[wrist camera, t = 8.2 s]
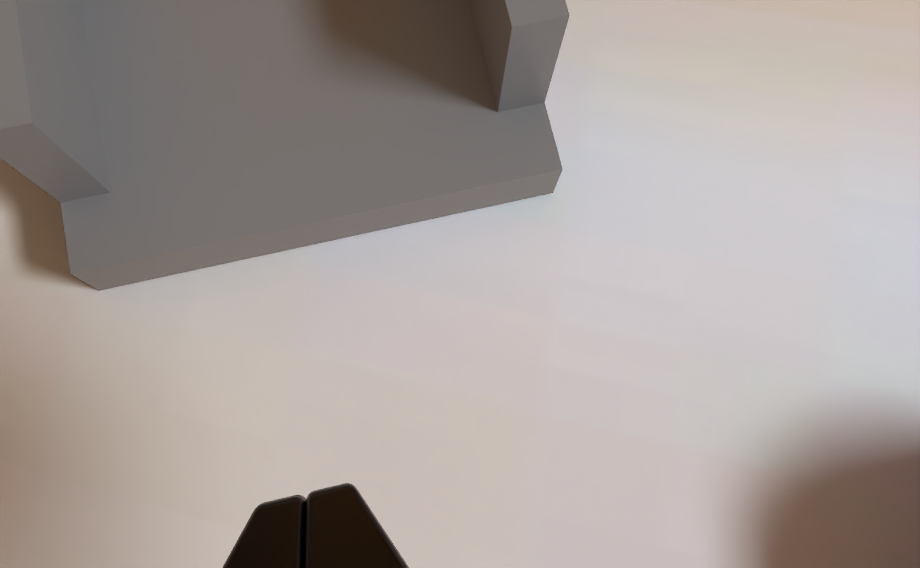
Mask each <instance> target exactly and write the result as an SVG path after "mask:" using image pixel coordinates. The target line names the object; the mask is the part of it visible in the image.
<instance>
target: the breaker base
mask: <svg viewBox="0 0 920 568" xmlns="http://www.w3.org/2000/svg"><path fill="white" fill-rule="evenodd" d="M568 18H569V12H568V9H567V5H566V2H565V0H0V158H1V159H2V160H3V161H5V162H6V163H7V164H9V165H10V166H11V167H13V168H14V169H15V170H17V171H18V172H19V173H21V174H22V175H24V176H25V177H26V178H28V179H29V180H30V181H32V182H33V183H34V184H36V185H37V186H38V187H40V188H41V189H42V190H44V191H45V192H46V193H48V194H49V195H50V196H52V197H53V198H54V199H56V200H57V201H58V202H60V205H61V212H62V219H63V226H64V233H65V240H66V247H67V254H68V261H69V268H70V274H71V275H73V276H74V277H76V278H78V279H80V280H81V281H83V282H85V283H87V284H89V285H90V286H92V287H94V288H96V289H97V290H103V289H108V288H113V287H117V286H122V285H127V284H131V283H136V282H140V281H145V280H150V279H154V278H159V277H164V276H168V275H173V274H178V273H182V272H187V271H192V270H196V269H201V268H205V267H210V266H215V265H219V264H224V263H229V262H233V261H238V260H243V259H247V258H252V257H257V256H261V255H266V254H271V253H275V252H280V251H284V250H289V249H294V248H298V247H303V246H308V245H312V244H317V243H322V242H326V241H331V240H336V239H340V238H345V237H350V236H354V235H359V234H363V233H368V232H373V231H377V230H382V229H387V228H391V227H396V226H401V225H405V224H410V223H415V222H419V221H424V220H428V219H433V218H438V217H442V216H447V215H452V214H456V213H461V212H466V211H470V210H475V209H480V208H484V207H489V206H494V205H498V204H503V203H507V202H512V201H517V200H521V199H526V198H531V197H535V196H540V195H545V194H549V193H553V191H554V189H555V186H556V184H557V181H558V179H559V176H560V174H561V172H562V166H561V162H560V158H559V155H558V151H557V147H556V143H555V140H554V136H553V132H552V129H551V125H550V121H549V118H548V114H547V110H546V107H545V103H544V102H545V99H546V95H547V92H548V88H549V85H550V81H551V78H552V74H553V71H554V67H555V64H556V60H557V57H558V53H559V50H560V46H561V43H562V39H563V36H564V32H565V29H566V25H567V22H568Z"/></svg>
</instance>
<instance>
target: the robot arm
mask: <svg viewBox="0 0 920 568" xmlns="http://www.w3.org/2000/svg"><path fill="white" fill-rule="evenodd" d="M223 568H409V567H408V566H407V564H406V563H405V561H404V560H403V558H402V557H401V555H400V554H399V552H398V551H397V549H396V547H395V546H394V544H393V543H392V541H391V540H390V538H389V537H388V535H387V534H386V532H385V531H384V529H383V528H382V526H381V525H380V523H379V522H378V520H377V519H376V517H375V516H374V514H373V513H372V511H371V510H370V508H369V507H368V505H367V504H366V502H365V501H364V499H363V498H362V496H361V495H360V493H359V491H358V490H357V489H356V487H355V486H353V485H352V484H349V483H345V484H341V485H337V486H332V487H328V488H324V489H320V490H315V491H313V492H311V493H310V494H309V495H308V497H307V499H306V498H305V497H303V496H301V495H294V496H290V497H286V498H282V499H277V500H273V501H269V502H265V503H262V504H260V505H259V506H258V507H257V508H256V509H255V510H254V511H253V513H252V515H251V517H250V519H249V520H248V522H247V524H246V526H245V528H244V530H243V531H242V533H241V535H240V537H239V539H238V540H237V542H236V544H235V546H234V548H233V550H232V551H231V553H230V555H229V557H228V559H227V561H226V562H225V564H224V566H223Z"/></svg>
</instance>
